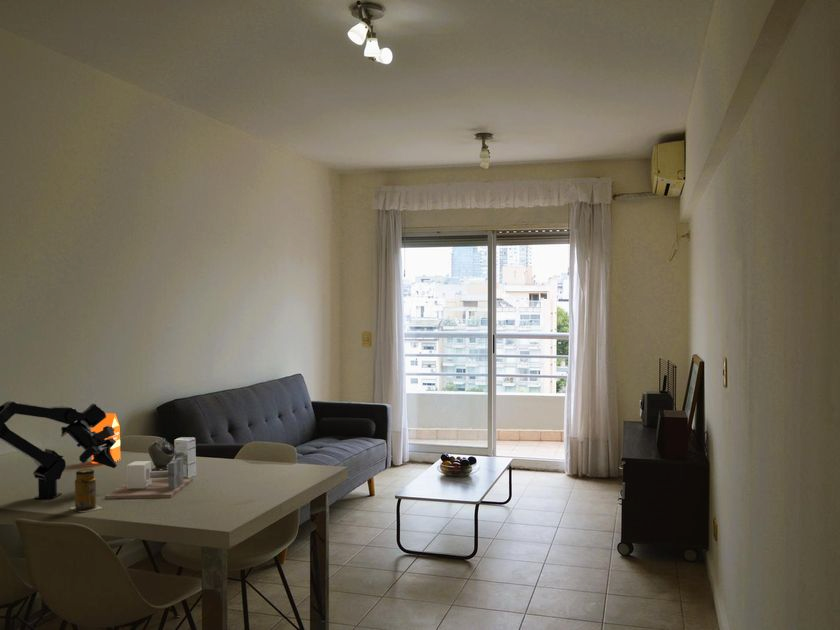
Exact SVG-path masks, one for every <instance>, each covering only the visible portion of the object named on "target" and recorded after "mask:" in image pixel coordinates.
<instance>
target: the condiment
mask: <svg viewBox="0 0 840 630" xmlns="http://www.w3.org/2000/svg"><path fill="white" fill-rule="evenodd" d="M75 476H76V477H75V478H76V479H75V480H74V504H75V505H74V507H73V506H72V507H69V509H70V510H73V511H75V512H79V513H85V512H93V511H97V510H102V509H104V507H102V506H100V505H97V489H96V488H97V487H96V486H97V483H96V481H97V479H96V478H95V470H94V469H90V468H87V469H86V468H84V469H78V470H77V471H76V473H75ZM96 506H97V507H96Z"/></svg>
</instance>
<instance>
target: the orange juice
mask: <svg viewBox="0 0 840 630" xmlns="http://www.w3.org/2000/svg"><path fill="white" fill-rule="evenodd" d="M105 414H106V418H105V419H104V420H102V421H101V422H100V423H99V424H97V425H96V426H95V427H94V428H91V427H90V428H91V429H90V431H91V432H93V431H95V432H97V433H98V432H100V431H102V430H103V427H106V426H108V425H109V426H110V427H112V428H114V429H115V430H114V433H115V435H113V436H110V437H108V438H113V439H114V440H115V441H116V443H115V444H114V445H113V446H112V447H111V448H110V453H111V455H112V457H113V459H114V461H116V462H118V461H120V460H121V429H120V427H121V425H120V424H119V419H118V418H117V417H118V416H117V415H116V413H105ZM108 438H106V439H108ZM106 439H105V440H106ZM93 459H94V458H93V455H92V456H91V464H97V463H96V462H92V460H93ZM119 459H120V460H119ZM117 460H118V461H117Z"/></svg>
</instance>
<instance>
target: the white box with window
mask: <svg viewBox="0 0 840 630" xmlns="http://www.w3.org/2000/svg"><path fill="white" fill-rule="evenodd" d="M151 471H152V460H146V461H145V460H139V461H137V460H134V461H133V462H131V463H128V464H127V465H126V483H127V489H136V488H146V487H147V486H149V485H150V484H152V479H153V478H150V472H151Z"/></svg>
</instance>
